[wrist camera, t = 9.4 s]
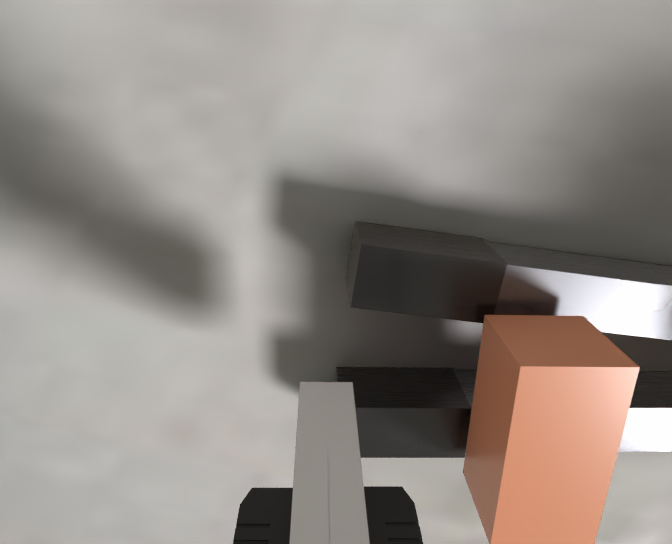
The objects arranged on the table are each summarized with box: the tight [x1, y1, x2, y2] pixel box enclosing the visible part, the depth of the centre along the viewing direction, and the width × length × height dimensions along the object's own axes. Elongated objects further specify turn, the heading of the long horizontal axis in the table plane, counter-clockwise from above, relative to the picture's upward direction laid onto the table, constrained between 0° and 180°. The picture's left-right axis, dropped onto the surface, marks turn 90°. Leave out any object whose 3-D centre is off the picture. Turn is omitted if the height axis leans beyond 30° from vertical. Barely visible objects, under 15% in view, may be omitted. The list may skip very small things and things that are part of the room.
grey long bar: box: [346, 221, 672, 340], centre depth 18 cm, size 20×5×3 cm, turn 82°
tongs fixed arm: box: [336, 367, 672, 458], centre depth 19 cm, size 16×2×3 cm, turn 88°
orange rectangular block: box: [463, 315, 640, 544], centre depth 16 cm, size 3×6×3 cm, turn 178°
